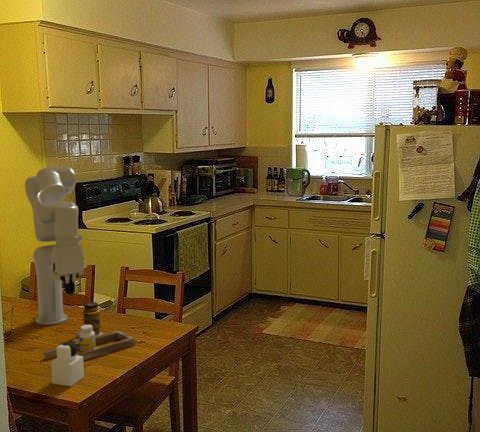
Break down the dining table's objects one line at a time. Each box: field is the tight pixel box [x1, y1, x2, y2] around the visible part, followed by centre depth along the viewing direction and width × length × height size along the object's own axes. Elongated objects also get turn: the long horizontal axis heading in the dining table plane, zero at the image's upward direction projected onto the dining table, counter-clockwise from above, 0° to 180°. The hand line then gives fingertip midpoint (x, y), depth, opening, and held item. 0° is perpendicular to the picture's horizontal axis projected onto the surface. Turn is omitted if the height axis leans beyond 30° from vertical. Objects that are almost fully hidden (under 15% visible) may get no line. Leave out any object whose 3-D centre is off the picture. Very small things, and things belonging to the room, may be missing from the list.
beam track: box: [43, 330, 136, 362], centre depth 197 cm, size 14×30×3 cm, turn 134°
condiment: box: [76, 301, 104, 337], centre depth 212 cm, size 7×8×12 cm
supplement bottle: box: [78, 324, 97, 353], centre depth 194 cm, size 5×5×10 cm
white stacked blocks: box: [50, 341, 85, 387], centre depth 172 cm, size 7×7×12 cm
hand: (69, 293), depth 190 cm, fingers closed
